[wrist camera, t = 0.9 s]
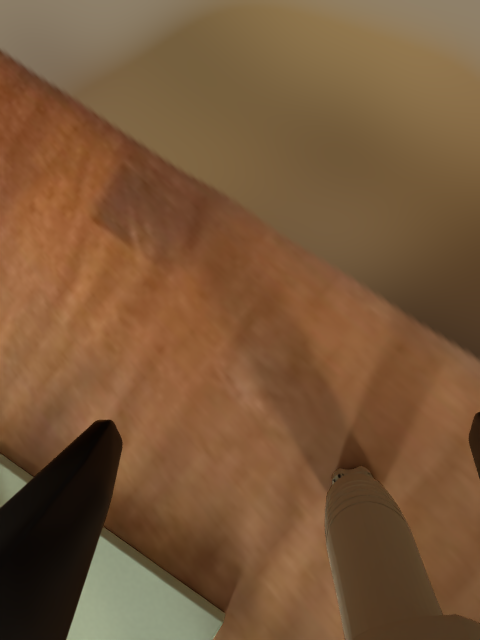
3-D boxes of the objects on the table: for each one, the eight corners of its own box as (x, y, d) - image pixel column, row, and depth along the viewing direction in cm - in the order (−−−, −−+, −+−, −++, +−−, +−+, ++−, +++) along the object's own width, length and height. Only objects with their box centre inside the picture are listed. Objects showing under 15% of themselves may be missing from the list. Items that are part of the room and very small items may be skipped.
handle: (287, 491, 25) (265, 759, 10) (366, 425, 24) (469, 609, 9) (341, 551, 24) (402, 927, 9) (423, 486, 23) (629, 786, 9)
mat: (226, 613, 26) (223, 623, 25) (96, 818, 27) (90, 833, 26) (-13, 443, 28) (-22, 447, 27) (-119, 641, 30) (-130, 650, 29)
